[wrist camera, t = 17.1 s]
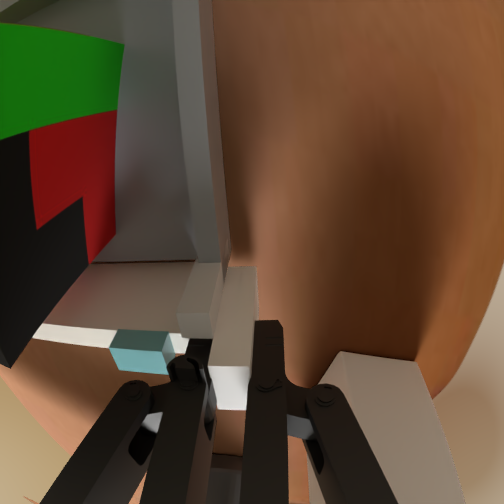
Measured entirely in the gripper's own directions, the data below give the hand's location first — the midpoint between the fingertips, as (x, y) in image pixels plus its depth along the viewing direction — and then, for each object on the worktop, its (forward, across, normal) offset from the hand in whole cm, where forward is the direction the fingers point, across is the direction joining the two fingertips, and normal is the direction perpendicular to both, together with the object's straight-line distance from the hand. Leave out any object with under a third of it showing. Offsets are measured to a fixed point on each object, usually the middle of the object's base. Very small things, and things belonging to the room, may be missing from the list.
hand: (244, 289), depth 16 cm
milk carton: (+2, -8, +11) cm, 14 cm away
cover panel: (+2, +11, 0) cm, 11 cm away
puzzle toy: (+1, +11, -9) cm, 14 cm away
